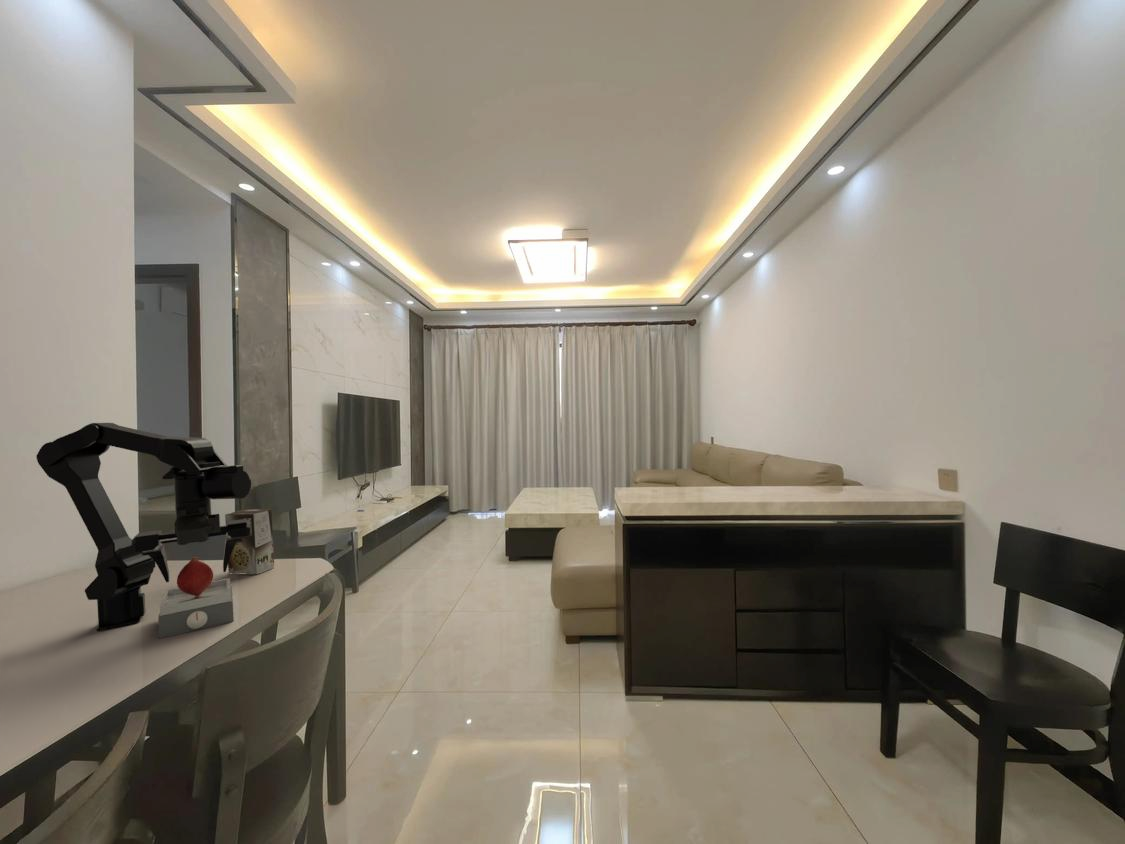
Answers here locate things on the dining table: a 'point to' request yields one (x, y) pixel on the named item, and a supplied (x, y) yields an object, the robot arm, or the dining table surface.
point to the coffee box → (253, 543)
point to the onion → (194, 577)
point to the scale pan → (195, 598)
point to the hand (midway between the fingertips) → (196, 576)
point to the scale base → (195, 619)
